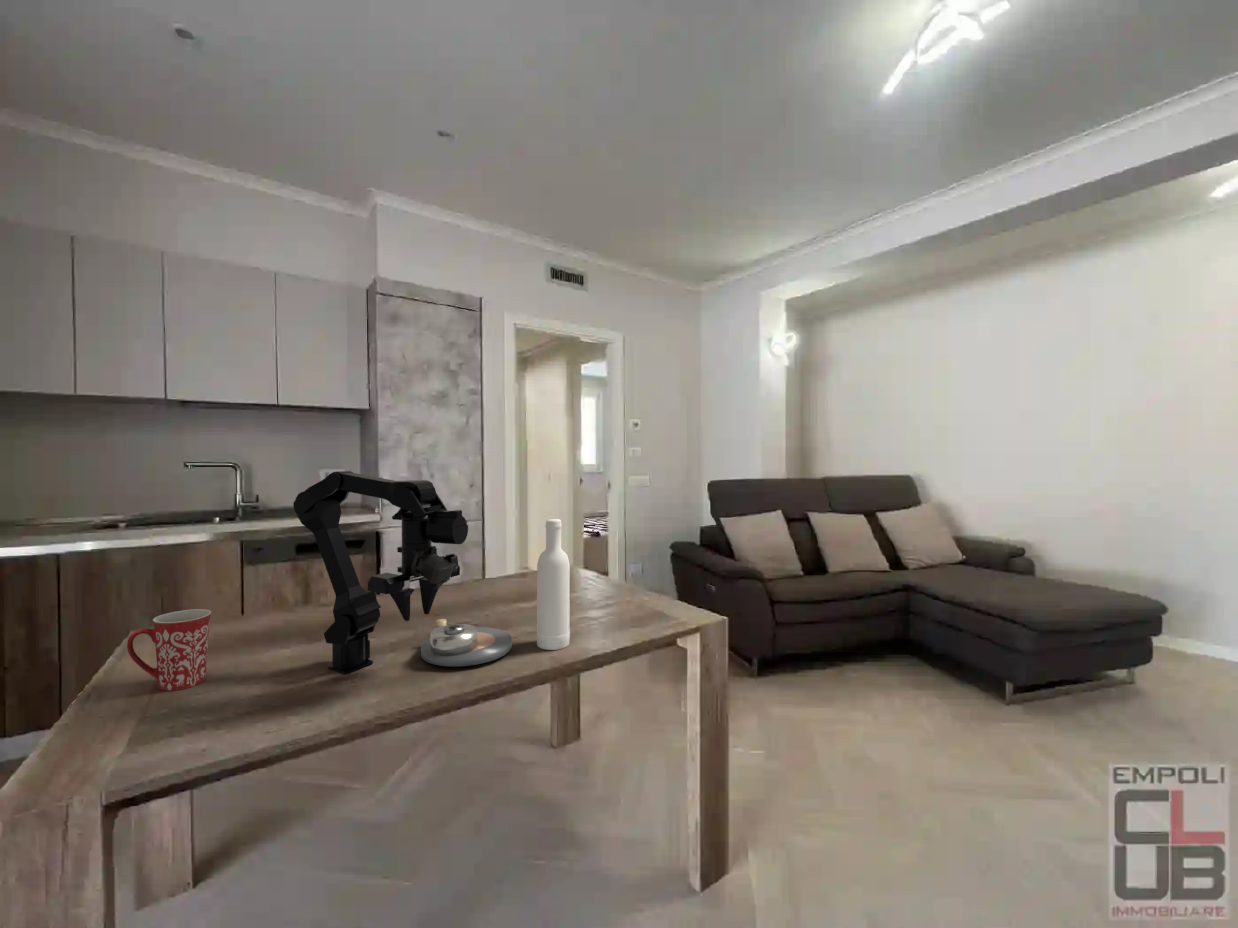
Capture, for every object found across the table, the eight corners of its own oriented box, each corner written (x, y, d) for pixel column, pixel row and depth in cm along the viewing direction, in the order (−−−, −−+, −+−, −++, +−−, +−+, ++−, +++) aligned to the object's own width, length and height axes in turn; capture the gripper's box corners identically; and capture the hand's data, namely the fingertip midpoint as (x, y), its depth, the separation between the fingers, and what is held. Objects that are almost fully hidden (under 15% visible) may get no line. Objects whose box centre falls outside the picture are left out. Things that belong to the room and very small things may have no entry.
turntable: (466, 673, 106) (466, 648, 106) (401, 654, 116) (401, 631, 116) (529, 642, 124) (529, 621, 124) (467, 628, 134) (467, 608, 134)
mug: (214, 669, 110) (214, 605, 110) (209, 685, 102) (208, 617, 102) (134, 683, 103) (133, 615, 103) (122, 702, 96) (120, 629, 95)
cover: (453, 659, 110) (452, 637, 110) (420, 650, 115) (420, 629, 114) (486, 643, 118) (486, 623, 118) (455, 636, 123) (455, 616, 123)
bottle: (566, 636, 130) (566, 517, 130) (573, 648, 123) (573, 521, 122) (534, 640, 128) (534, 518, 127) (539, 652, 120) (539, 522, 120)
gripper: (404, 553, 95) (404, 638, 95) (478, 538, 111) (478, 611, 112) (365, 547, 101) (366, 627, 101) (441, 534, 117) (441, 603, 117)
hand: (416, 617), depth 108 cm, fingers open, 5 cm apart
